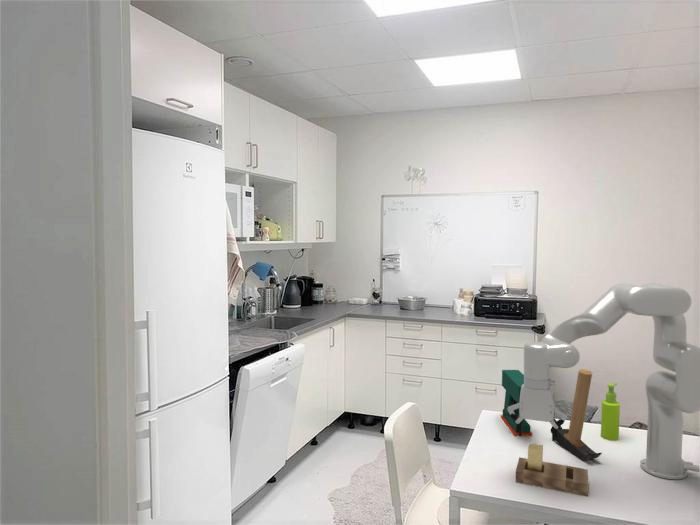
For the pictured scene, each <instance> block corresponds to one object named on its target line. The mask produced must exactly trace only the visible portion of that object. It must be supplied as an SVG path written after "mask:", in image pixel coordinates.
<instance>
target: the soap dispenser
mask: <svg viewBox="0 0 700 525" xmlns="http://www.w3.org/2000/svg"><path fill="white" fill-rule="evenodd" d="M617 385H618V383H616V382H609V383H608V384H607V388H608V391H606V393H605V399H603V400H601V418H600V419H601V420H600V421H601V422H600V438H602V439H604V440H607V441H619V438H620V436H619V435H620V416H621V415H620V409H621V407H620V406H621V403H620V402H618V401H617V393H616V392H615V391H614V390H615V386H617Z"/></svg>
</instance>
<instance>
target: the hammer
mask: <svg viewBox="0 0 700 525" xmlns="http://www.w3.org/2000/svg"><path fill="white" fill-rule="evenodd" d="M577 373H578V374H577V379H576V384H575V391H574V398H573V403H572V408H571V409H572V410H571V414H570V419H569V420H570V421H569V426H568V428H563V427H562V425H561V426H560V427H558V429H557V438H555V442H556V443H557V444H558V445H559V446H561V448H563V449H564V450H565V451H567V452H568V453H569V454H571V455H573V456H574V457H576V458H577V459H579V460H581V461H585V460H594V459H598V458H599V457H600V456H601V455H602V454H603V452H596V451H594V450H593V449H592V448H591V447H589V446H588V445H587V444H586V443H585V442H584V441H583V440H581V439H582V434H583V427H584V424H585V416H586V411H587V405H588V400H589V394H590V388H591V381H592V378H593V372H592V371H591V370H588V369H583V368H581V369H578V372H577ZM550 433H551V434H552V427H551V428H550Z"/></svg>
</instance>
